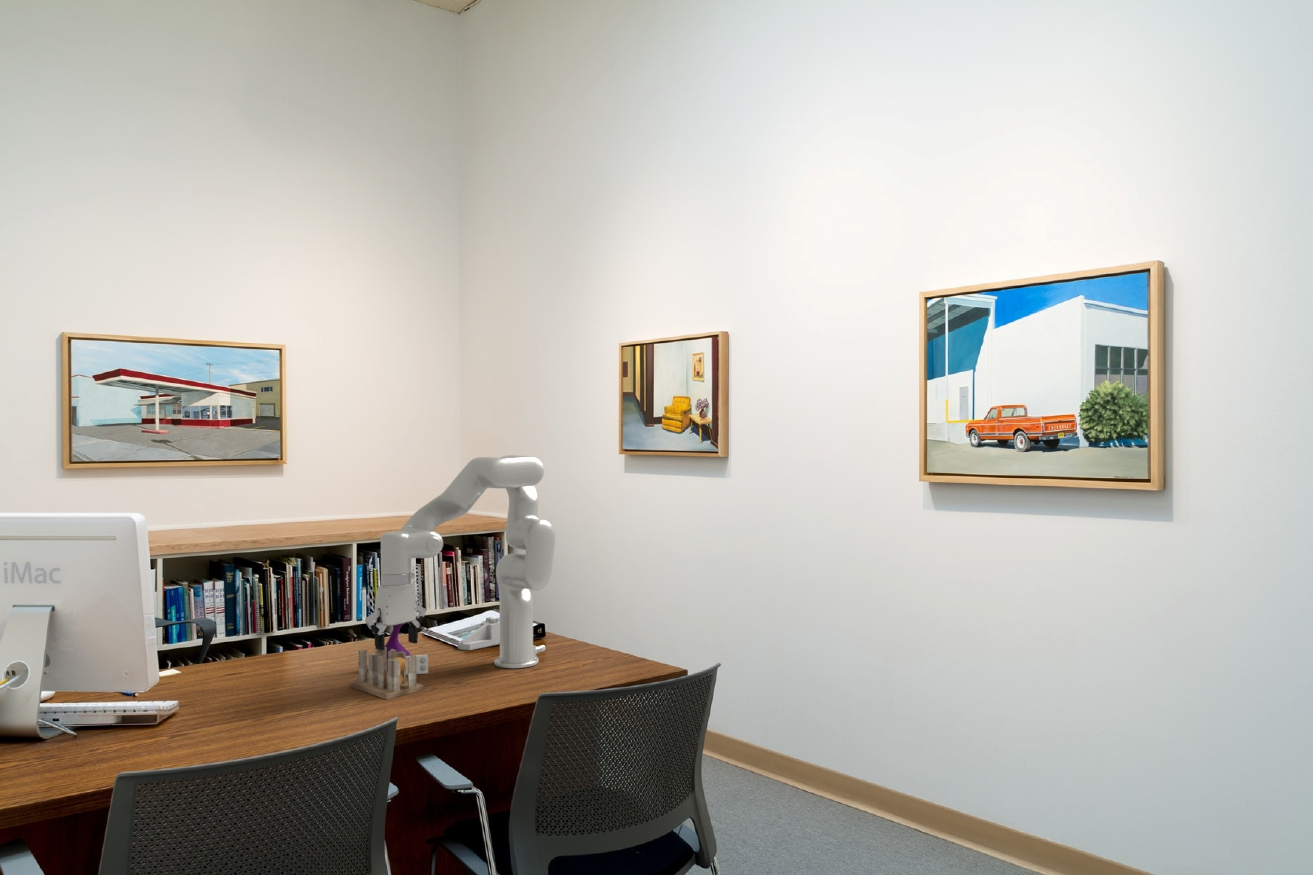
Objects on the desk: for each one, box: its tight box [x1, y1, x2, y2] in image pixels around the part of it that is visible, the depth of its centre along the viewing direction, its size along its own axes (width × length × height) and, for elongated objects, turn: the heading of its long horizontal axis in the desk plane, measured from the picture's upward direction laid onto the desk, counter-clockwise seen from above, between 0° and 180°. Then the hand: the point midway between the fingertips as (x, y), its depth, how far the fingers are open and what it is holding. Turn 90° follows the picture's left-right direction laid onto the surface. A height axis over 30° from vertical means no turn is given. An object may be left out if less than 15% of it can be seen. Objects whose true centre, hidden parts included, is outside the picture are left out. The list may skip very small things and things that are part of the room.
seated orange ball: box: [387, 673, 404, 686], centre depth 232 cm, size 4×4×4 cm
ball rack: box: [350, 647, 425, 700], centre depth 236 cm, size 11×17×9 cm, turn 49°
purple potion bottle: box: [385, 623, 411, 671], centre depth 257 cm, size 8×8×18 cm
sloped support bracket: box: [457, 616, 500, 651], centre depth 285 cm, size 6×18×8 cm, turn 136°
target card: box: [406, 654, 429, 676], centre depth 250 cm, size 1×8×5 cm, turn 105°
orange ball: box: [392, 657, 406, 672], centre depth 234 cm, size 4×4×4 cm
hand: (396, 645), depth 233 cm, fingers open, 9 cm apart
